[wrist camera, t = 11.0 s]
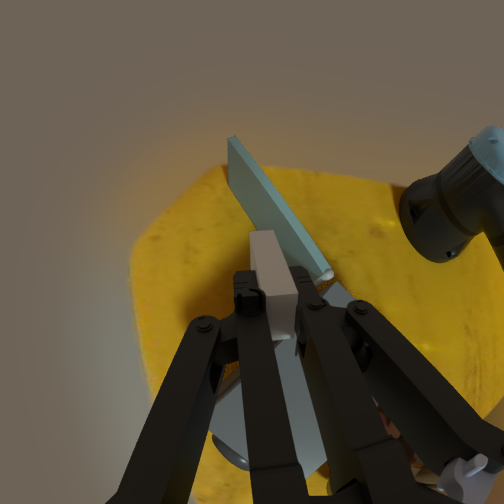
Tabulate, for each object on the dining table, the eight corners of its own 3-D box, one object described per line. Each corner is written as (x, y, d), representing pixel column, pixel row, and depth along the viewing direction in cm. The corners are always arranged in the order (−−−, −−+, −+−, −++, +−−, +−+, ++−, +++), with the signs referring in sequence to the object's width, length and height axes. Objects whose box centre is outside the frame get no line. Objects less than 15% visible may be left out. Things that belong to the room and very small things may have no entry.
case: (305, 295, 35) (334, 278, 25) (366, 355, 33) (412, 358, 23) (196, 403, 30) (180, 430, 20) (265, 459, 28) (277, 501, 18)
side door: (314, 288, 35) (345, 268, 25) (301, 297, 35) (327, 280, 25) (241, 179, 39) (244, 131, 29) (228, 186, 39) (227, 138, 29)
